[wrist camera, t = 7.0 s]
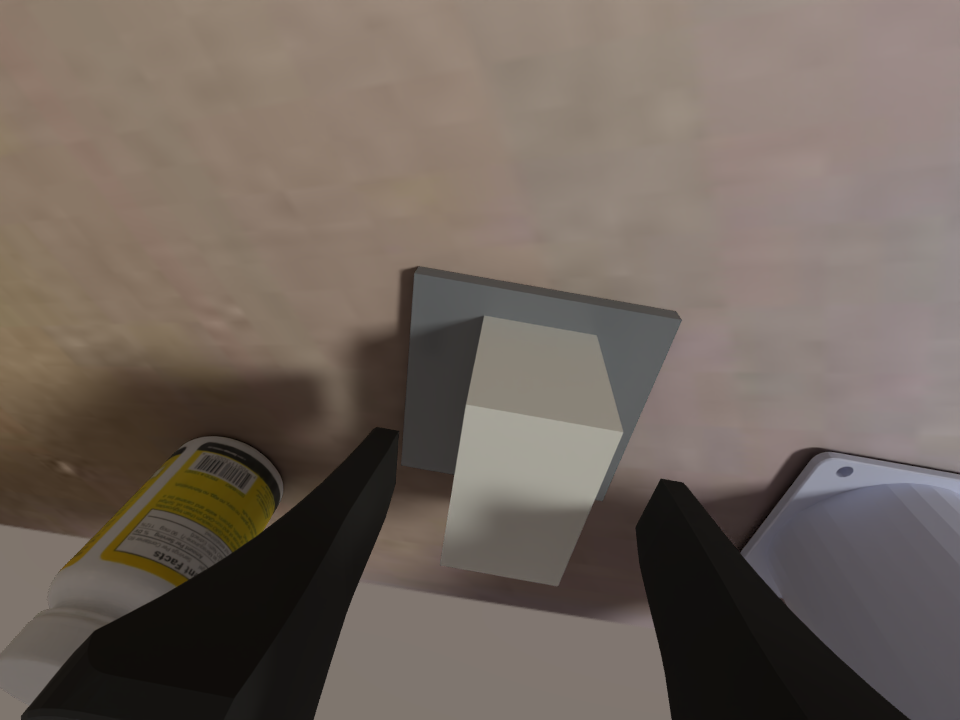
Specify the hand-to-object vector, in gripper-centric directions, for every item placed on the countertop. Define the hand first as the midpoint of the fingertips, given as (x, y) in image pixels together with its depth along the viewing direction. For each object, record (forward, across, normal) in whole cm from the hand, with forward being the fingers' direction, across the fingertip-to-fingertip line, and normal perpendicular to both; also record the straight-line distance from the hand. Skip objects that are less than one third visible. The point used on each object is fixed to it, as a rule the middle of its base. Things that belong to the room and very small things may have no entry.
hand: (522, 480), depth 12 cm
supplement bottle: (+4, +12, +7) cm, 14 cm away
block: (+3, 0, 0) cm, 4 cm away
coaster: (+4, 0, 0) cm, 4 cm away
